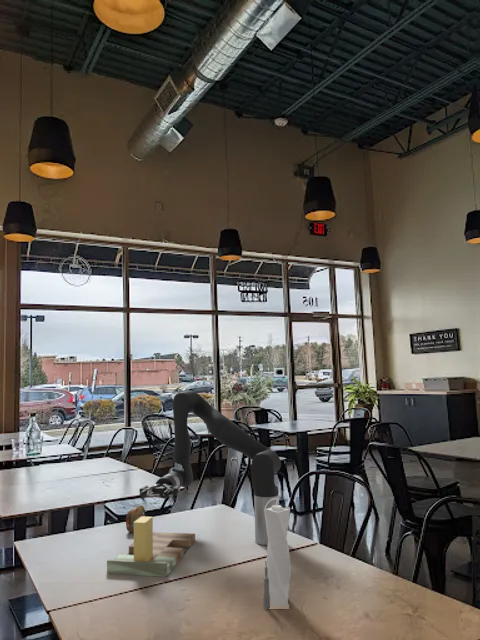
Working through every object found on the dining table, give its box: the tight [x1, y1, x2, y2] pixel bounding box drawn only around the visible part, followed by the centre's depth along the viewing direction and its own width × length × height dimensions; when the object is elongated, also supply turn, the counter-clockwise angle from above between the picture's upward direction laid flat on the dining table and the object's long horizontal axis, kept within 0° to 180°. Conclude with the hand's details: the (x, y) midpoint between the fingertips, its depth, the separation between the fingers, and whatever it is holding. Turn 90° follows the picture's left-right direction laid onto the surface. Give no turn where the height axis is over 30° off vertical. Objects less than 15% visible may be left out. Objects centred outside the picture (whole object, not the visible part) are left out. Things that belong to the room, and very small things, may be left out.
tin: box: [125, 505, 146, 533], centre depth 216 cm, size 15×3×8 cm, turn 168°
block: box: [133, 515, 154, 561], centre depth 174 cm, size 7×4×13 cm, turn 170°
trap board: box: [106, 531, 196, 578], centre depth 184 cm, size 35×20×4 cm, turn 170°
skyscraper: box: [263, 497, 291, 610], centre depth 146 cm, size 8×8×28 cm
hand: (153, 495), depth 186 cm, fingers open, 8 cm apart
